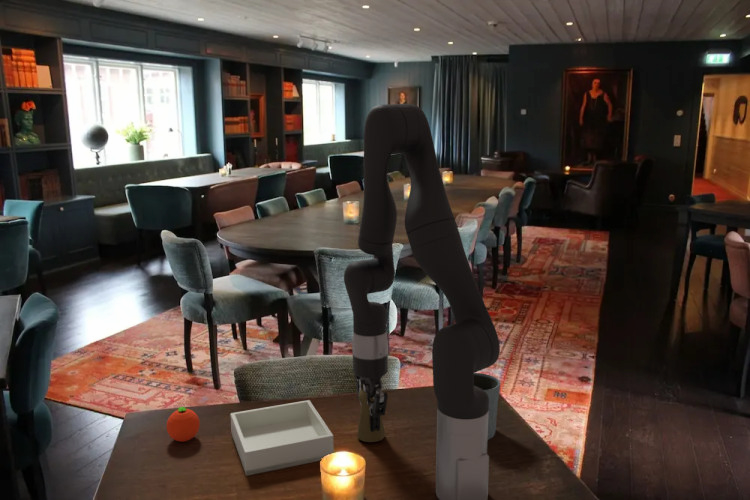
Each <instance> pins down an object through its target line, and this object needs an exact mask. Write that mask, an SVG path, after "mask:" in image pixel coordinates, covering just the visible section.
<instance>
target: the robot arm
mask: <svg viewBox="0 0 750 500" xmlns="http://www.w3.org/2000/svg"><path fill="white" fill-rule="evenodd" d="M364 122H365V123H364V129H363V130H364V131H363V204H362V205H363V206H362V214H361V220H360V226H359V234H358V240H357V246H358V248H359V250H360V251H361V252H363V253H365V254H367V255H371V256H373V258H371V259H364V260H357V261H352V262H350V263H349V264H348V265H347V266H346V268H345V271H344V273H343V282H344V286H345V290H346V293H347V296H348V299H349V302H350V307H351V311H352V320H353V321H352V323H353V326H352V329H353V333H352V335H353V336H352V340H351V341H352V345H351V347H352V350H351V351H352V372H353V374H354V379H355V387H356V394H357V400H358V401H359V404H360V405H361V402H360V400H359V392H360V390H361V389H363V390H364V392H365V394H366V399H367V400H366V404H367V405H368V406H369V418H370V431H371V432H374V431H375V430H377V431H379V430H380V416H382V417H383V416H385V415H386V408H387V404H388V392H386V391H385V392H383V383H382V380H381V379H382V378H383V377H384V376H385V375H387V373H388V372H389V363H388V362H389V355H388V354H389V353H388V351H389V350H388V349H389V346H388V342H389V341H388V334H387V310H386V307H385V305H384V304H382V303H380V302H377V301H369V298H368V295H369V294H374V293H381V292H385V291H388V290H389V289H390V288H391V287H392V285H393V283H394V281H395V278H396V277H395V276H396V270H395V261H394V251H393V243H394V238H395V233H396V228H397V227H396V226H397V219H398V212H397V211H398V210H397V206H396V202H395V199H394V196H393V194H392V190H391V189H390V185H389V180H388V170H389V169H388V168H389V163H390V160H391V157H392V155H400V154H401V155H403V156H404V158H405V159H404V160H405V162H406V166H407V169H408V172H409V178H410V190H409V195H408V200H407V204H406V209H405V213H404V229H405V233H406V236H407V241H408V243H409V246H410V249H411V251H412V252H411V253H412V255H413V257H414V260H415V262H416V263H417V264H418V266H419V267H420V269H421V270H422V271H423V272H424V273H425V274H426V275H427V277H428V278H429V279H430V280H431V281H432V282H433V283H434V284H435V285H436V286H437V287H438V288H439V290H440V291H442V294H443V295H444V296H445V298H446V301H447V302H448V304H449V306H450V309H451V311H452V315H453V318H454V321H455V323H452V324H449V325H446V326H444V327H442V328H440V329H439V330H438V331H437V332H436V333H435V335H434V338H433V342H432V347H431V348H432V349H431V350H432V351H431V355H432V356H431V360H432V385H433V387H432V388H433V390H434V391H433V392H434V395H435V397H436V401H437V402H436V403H437V404H436V405H437V407H436V409H437V410H436V411H437V412H436V414H437V415H436V451H435V453H436V455H435V458H436V459H435V466H436V467H435V494H436V497H437V498H438V500H488V495H489V473H490V472H489V468H490V466H489V465H490V456H489V454H488V440H487V438H488V413H489V397H488V395H487V393H486V392H485V391H484V390H483V389H481V388H479V387H476V386H474V380H473V374H474V373H479V372H481V371H482V370H484V369H487V368H489V367H492V366H493V365H495V364H496V363H497V361H498V359H499V357H500V352H501V351H500V350H501V349H500V348H501V347H500V339H499V336H498V332H497V330H496V327H495V324H494V322H493V320H492V318H491V315H490V313H489V311H488V309H487V307H486V306H487V305H486V304H485V301H484V300H483V297H482V295H481V293H480V291H479V288H478V286H477V283H476V280H475V278H474V273H473V272H472V268H471V265H470V262H469V260H468V257H467V255H466V252H465V249H464V244H463V241H462V238H461V233H460V231H459V228H458V225H457V222H456V218H455V216H454V213H453V210H452V207H451V205H450V201H449V199H448V195H447V192H446V187H445V185H444V181H443V178H442V175H441V171H440V167H439V164H438V163H439V162H438V159H437V153H436V150H435V144H434V139H433V135H432V130H431V127H430V123H429V121H428V117H427V115H426V114H425V112H424V111H423V110H422V108H421V107H420V106H417V105H416V104H411V103H398V104H397V103H396V104H395V103H392V104H389V103H388V104H387V103H386V104H379V105H375V106H373V108H371V110H370V111H369V113H368V114H367V115H366V119H365V121H364ZM369 397H370V398H374V401H372V402H371V401H370V398H369ZM372 406H373V407H372Z"/></svg>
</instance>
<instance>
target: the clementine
mask: <svg viewBox="0 0 750 500" xmlns="http://www.w3.org/2000/svg"><path fill="white" fill-rule="evenodd" d="M200 423H201V422H200V418H199V416H198V415H197V413H196V412H195V411H193V410H192V409H189V408H186V407H185V406H181V407H180V406H179V407H178V409H177V410H175V411H174V412H172V413H171V415H170V416H169V417H168V419H167V421H166V431H167V434H168V435H169V437H170V438H171V439H172V440H175V441H176V442H188V441H190V440H192V439H193V438H194V437H196V435H197V434H198V432H199V429H200V425H201V424H200Z"/></svg>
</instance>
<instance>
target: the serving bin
mask: <svg viewBox="0 0 750 500" xmlns="http://www.w3.org/2000/svg"><path fill="white" fill-rule="evenodd" d="M230 427H231V428H230V429H231V436H232V439H233V442H234V445H235V448H236V451H237V453H238V455H239V460H240V463H241V465H242V467H243V470H244V473H245V476H246V477H247V476H251V475H257V474H262V473H267V472H272V471H276V470H281V469H286V468H291V467H294V466H295V467H296V466H300V465H301V466H302V465H306V464H310V463H316V462H319V461H320V459H321V458H323V457H324V456H326V455H328V454H331V453H334V448H335V447H334V434H333V433H332V431H331V430H330V428H329V427H328V425H327V423H326V422H325V421H324V419H323V418H322V417H321V415H320V414H319V412H318V410H317V409H316V408H315V406H314V405H313V403H312V402H311V400H310V399H307V400H302V401H296V402H290V403H284V404H279V405H271V406H267V407H266V406H265V407H260V408H254V409H249V410H243V411H235V412H231V413H230Z"/></svg>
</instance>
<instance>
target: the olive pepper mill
mask: <svg viewBox="0 0 750 500" xmlns="http://www.w3.org/2000/svg"><path fill="white" fill-rule="evenodd" d="M369 398H370V397H369ZM366 400H367V399H366V394H365V392H364V390H363V389H361V390H360V392H359V400H358V401H359V403H360V402H361V404H360V412H359V421H358V428H357V438H358V439H359V440H360V441H362V442H366V443H374V442H376V443H377V442H380V441H382V440H383V439H384V438H385V436H386V435H385V434H386V433H385V426H384V420H383V415H382V416H380V430H379V431H377V430H375V431H374V432H371V431H370V418H369V406H368V405H367V404H366ZM370 401H371V402H372V401H374V398H370ZM372 407H373V406H372Z"/></svg>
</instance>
